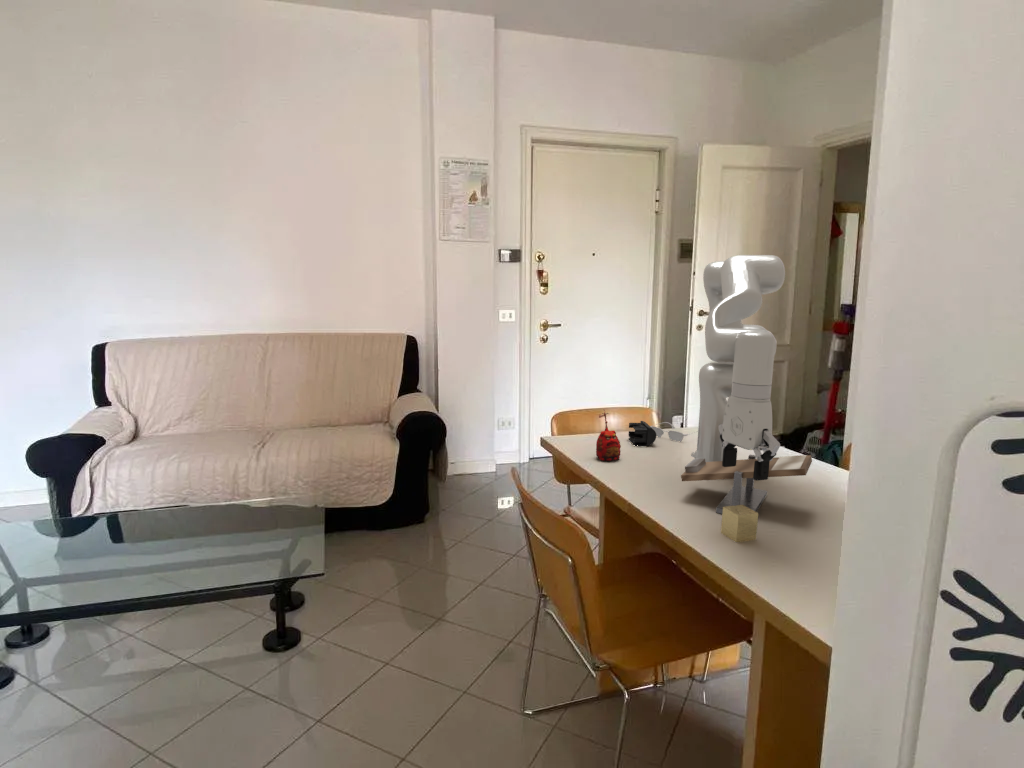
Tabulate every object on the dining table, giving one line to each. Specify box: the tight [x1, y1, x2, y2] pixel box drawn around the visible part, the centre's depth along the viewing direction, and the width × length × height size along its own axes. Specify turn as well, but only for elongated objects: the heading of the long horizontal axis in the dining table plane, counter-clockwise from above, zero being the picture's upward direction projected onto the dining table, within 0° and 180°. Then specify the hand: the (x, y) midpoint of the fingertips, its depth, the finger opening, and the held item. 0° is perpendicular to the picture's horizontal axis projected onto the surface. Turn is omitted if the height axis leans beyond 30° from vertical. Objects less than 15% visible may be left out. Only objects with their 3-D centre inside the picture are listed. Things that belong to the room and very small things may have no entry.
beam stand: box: [715, 454, 768, 515], centre depth 146 cm, size 8×20×10 cm, turn 148°
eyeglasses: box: [649, 421, 698, 443], centre depth 214 cm, size 15×18×4 cm
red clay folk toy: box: [595, 409, 622, 462], centre depth 181 cm, size 8×7×15 cm
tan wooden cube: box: [720, 505, 759, 543], centre depth 127 cm, size 5×5×6 cm
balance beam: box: [680, 454, 813, 482], centre depth 145 cm, size 28×14×3 cm, turn 58°
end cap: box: [628, 420, 657, 447], centre depth 201 cm, size 10×7×7 cm
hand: (744, 472), depth 125 cm, fingers open, 9 cm apart
